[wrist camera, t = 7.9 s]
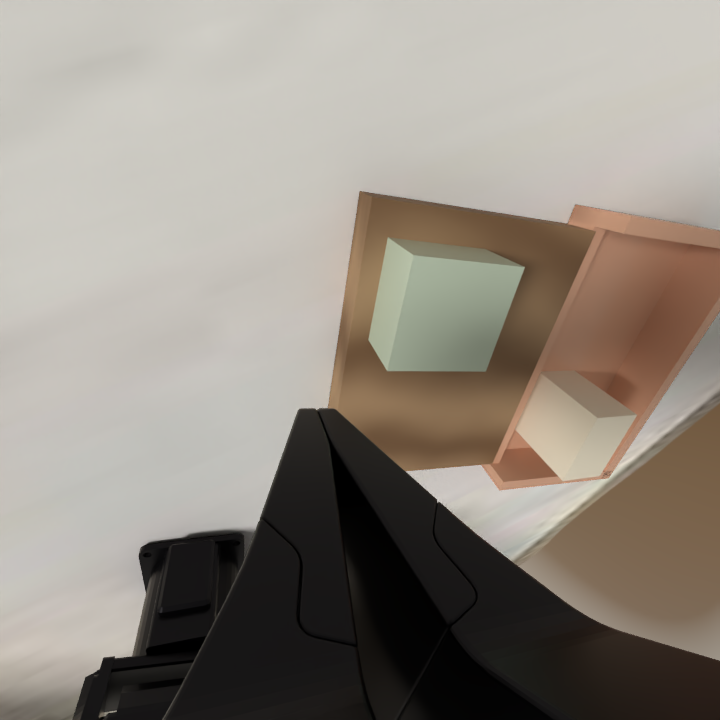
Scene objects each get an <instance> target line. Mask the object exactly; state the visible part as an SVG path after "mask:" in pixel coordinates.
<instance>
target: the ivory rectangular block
mask: <svg viewBox="0 0 720 720" xmlns="http://www.w3.org/2000/svg"><path fill="white" fill-rule="evenodd" d="M636 416H637V414H635V413H634V412H632V411H631V410H630V409H628V408H627V407H625V406H624V405H623V404H621V403H620V402H618V401H617V400H615V399H614V398H613V397H611V396H610V395H608V394H607V393H606V392H604V391H603V390H601V389H600V388H598V387H597V386H596V385H594V384H593V383H591V382H590V381H589V380H587V379H586V378H584V377H583V376H582V375H580V374H579V373H577V372H576V371H574V370H572V371H542V372H541V373H540V375H539V377H538V379H537V381H536V384H535V386H534V388H533V390H532V392H531V395H530V397H529V399H528V401H527V403H526V405H525V408H524V410H523V412H522V414H521V416H520V419H519V421H518V423H517V425H516V427H515V430H516V431H517V432H518V433H519V434H520V435H521V437H522V438H523V439H524V440H525V441H526V442H527V443H528V444H529V445H530V446H531V447H532V448H533V450H534V451H535V452H536V453H537V454H538V455H539V456H540V457H541V458H542V459H543V460H544V461H545V463H546V464H547V465H548V466H549V467H550V468H551V469H552V470H553V471H554V472H555V473H556V474H557V476H558V477H559V478H560V479H561V480H562V481H568V480H575V479H582V478H590V477H597V476H600V475H601V473H602V472H603V470H604V468H605V467H606V465H607V463H608V462H609V460H610V459H611V457H612V455H613V454H614V452H615V450H616V449H617V447H618V446H619V444H620V442H621V441H622V439H623V437H624V436H625V434H626V433H627V431H628V429H629V428H630V426H631V424H632V423H633V421H634V419H635V418H636Z"/></svg>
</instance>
